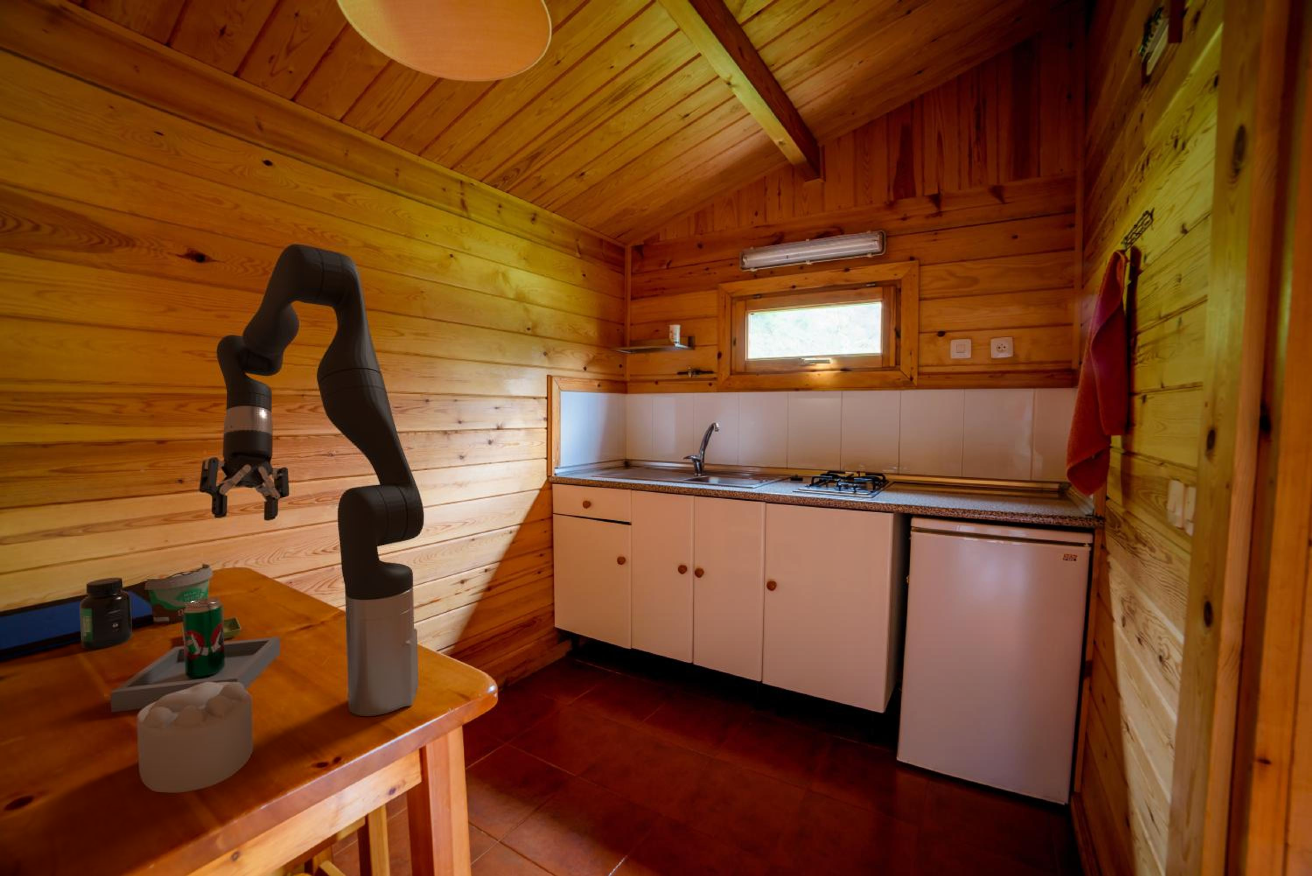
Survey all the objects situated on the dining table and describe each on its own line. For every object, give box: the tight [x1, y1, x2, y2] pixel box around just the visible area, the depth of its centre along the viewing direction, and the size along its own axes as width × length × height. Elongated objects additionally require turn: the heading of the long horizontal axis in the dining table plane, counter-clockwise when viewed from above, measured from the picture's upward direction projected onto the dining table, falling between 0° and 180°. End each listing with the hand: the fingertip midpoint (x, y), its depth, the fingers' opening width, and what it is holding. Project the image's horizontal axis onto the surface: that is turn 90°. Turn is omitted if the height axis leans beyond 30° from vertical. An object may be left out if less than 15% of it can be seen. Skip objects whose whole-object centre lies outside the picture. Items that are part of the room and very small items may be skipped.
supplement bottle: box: [79, 577, 133, 650], centre depth 104 cm, size 7×7×12 cm
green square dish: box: [181, 616, 243, 642], centre depth 107 cm, size 9×9×2 cm
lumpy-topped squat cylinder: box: [136, 682, 254, 793], centre depth 68 cm, size 10×13×9 cm
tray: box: [110, 636, 281, 713], centre depth 89 cm, size 16×16×3 cm
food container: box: [144, 563, 214, 626], centre depth 116 cm, size 12×6×10 cm, turn 168°
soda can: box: [182, 597, 225, 679], centre depth 89 cm, size 5×5×12 cm
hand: (246, 518), depth 99 cm, fingers open, 8 cm apart
